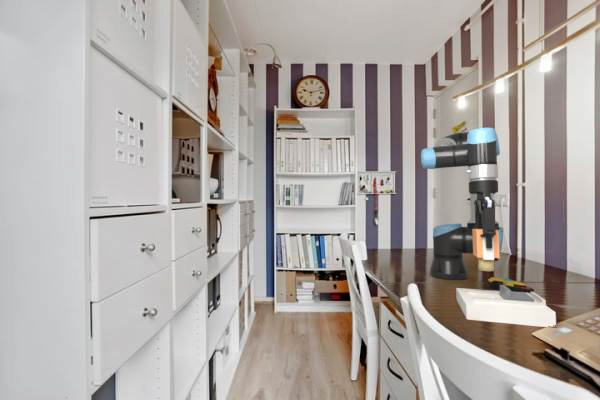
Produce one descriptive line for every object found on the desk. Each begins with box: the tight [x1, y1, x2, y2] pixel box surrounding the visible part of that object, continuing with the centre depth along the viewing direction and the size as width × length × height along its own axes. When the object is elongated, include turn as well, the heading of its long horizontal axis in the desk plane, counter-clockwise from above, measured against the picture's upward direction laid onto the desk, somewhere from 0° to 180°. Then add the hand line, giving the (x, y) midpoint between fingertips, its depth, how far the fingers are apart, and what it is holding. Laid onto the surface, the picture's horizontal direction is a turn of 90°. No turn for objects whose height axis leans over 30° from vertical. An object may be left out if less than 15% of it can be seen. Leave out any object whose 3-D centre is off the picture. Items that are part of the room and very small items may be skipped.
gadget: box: [485, 276, 535, 294], centre depth 102 cm, size 6×13×6 cm, turn 72°
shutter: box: [500, 285, 534, 302], centre depth 85 cm, size 6×6×3 cm
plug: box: [472, 229, 501, 272], centre depth 88 cm, size 6×6×12 cm
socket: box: [455, 287, 557, 328], centre depth 87 cm, size 18×20×6 cm
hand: (485, 257), depth 88 cm, fingers closed on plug, 6 cm apart
